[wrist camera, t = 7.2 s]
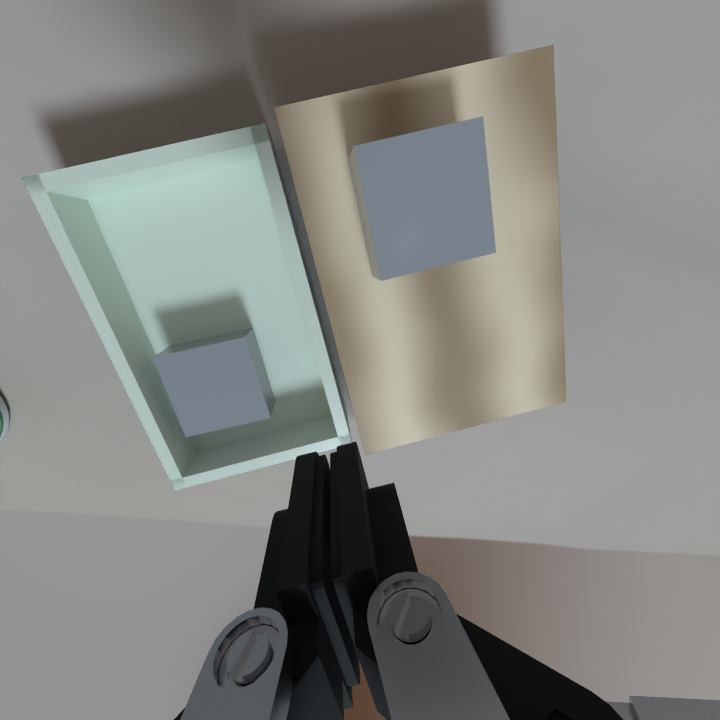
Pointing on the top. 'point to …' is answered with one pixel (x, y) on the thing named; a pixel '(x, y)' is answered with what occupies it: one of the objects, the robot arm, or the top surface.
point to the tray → (199, 288)
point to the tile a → (216, 382)
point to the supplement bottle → (3, 418)
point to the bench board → (449, 282)
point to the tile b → (424, 198)
